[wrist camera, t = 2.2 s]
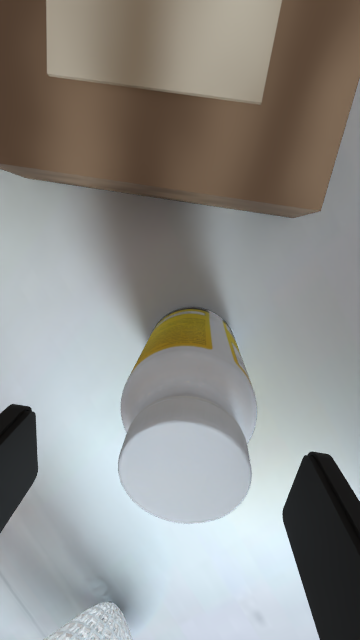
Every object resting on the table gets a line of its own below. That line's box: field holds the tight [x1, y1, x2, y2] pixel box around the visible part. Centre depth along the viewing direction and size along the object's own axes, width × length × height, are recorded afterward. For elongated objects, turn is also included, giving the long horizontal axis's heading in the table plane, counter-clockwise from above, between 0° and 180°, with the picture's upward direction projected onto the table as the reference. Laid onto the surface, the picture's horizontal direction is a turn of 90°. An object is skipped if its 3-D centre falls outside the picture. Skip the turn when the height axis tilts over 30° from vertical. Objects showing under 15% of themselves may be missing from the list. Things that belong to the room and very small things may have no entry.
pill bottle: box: [118, 307, 257, 524], centre depth 14 cm, size 6×6×12 cm
